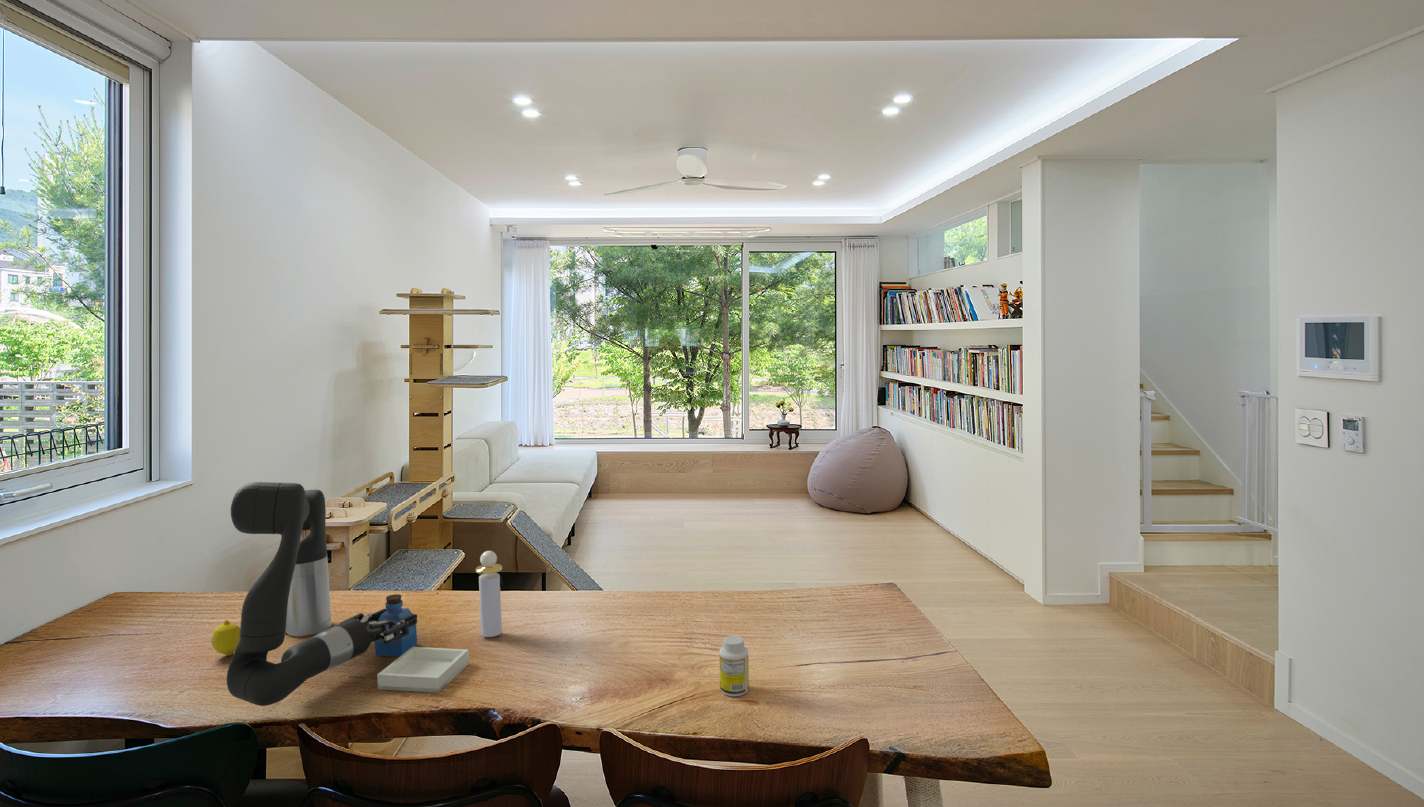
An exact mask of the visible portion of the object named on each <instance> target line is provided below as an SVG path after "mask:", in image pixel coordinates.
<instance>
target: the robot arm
mask: <svg viewBox="0 0 1424 807" xmlns="http://www.w3.org/2000/svg"><path fill="white" fill-rule="evenodd" d="M232 498H233V499H232V500H231V505H230V518H231V521H232V523H233V525H234V528H235V529H236V530H237V531H238V532H240V533H243V534H248V535H250V534H251V535H280V536H281V538H280V543H279V546H278V549H277V552H276V554H275V555H274V557H273V559H272V561H271V562H270V563H269V565H268V566H267V567H266V568H265V570H264V571H263V573H262V574H261V575H259V577H258V578H257V580H256V581H255V582H254V584H253V585H251V588H250V589H249V591H248V592H247V594H246V596H245V597H244V598H245V599H244V601H243V604H242V608H241V615H240V626H239V628H240V640H239V643H238V645H237V647H236V649H235V651H234V653H233V654H232V658H231V661H230V664H229V666H228V669H227V673H226V686H227V690H228V692H229V693H230V695H231V696H233V697H235V698H237V699H239V700H242V701H245V702H247V703H250V704H253V705H256V706H258V707H259V706H260V707H266V706H271V705H273V704H277V703H279V702H281V701H282V700H285V699H286V698H287V697H288V696H289V695H291V694H292V693H293V692H294V691H295V690H297V689H298V688H299V687H300V686H301V685H303V684H304V683H305V682H306V681H307V680H309V679H311V678H313V677H315V676H317V675H319V674H321V673H323V672H326V671H328V670H331V669H333V668H336V667H338V666H340V665H343V664H344V663H347V662H348V661H350V660H353V659H354V658H356V657H359V656H361V655H363V654H364V653H366V651H368V649H369V647H370V645H371V644H372V643H375V641H378V640H380V639H383V640H384V644H389V643H391V642H393V641H395V640H397V639H399V638H402V637H404V636H406V635H408V634H409V627H411V626H413V625H415V624H416V625H417V624H418V614H417V613H412V615H410V616H408V617H406V618H403V619H401V620H398V621H392V620H386V621H380V622H377V621H378V619H379V617H380V615H381V614H383V613H384V612H386V611H387V609H386V608H382V609H380V610H378V611H375V612H373V613H371V612H370V613H366V614H365V615H364V613H363V612H362V613H361V612H360V613H358V614H356V615H353V616H351V617H349V618H347V619H345V620H343V621H341V622H340V623H339V624H336V625H334V626H333V624H332V623H333V621H332V608H331V606H332V605H331V595H330V592H331V591H330V579H329V577H330V576H329V563H328V561H329V560H328V546H327V532H326V531H327V530H326V528H327V527H326V522H327V521H326V515H327V514H326V513H327V512H326V509H327V508H326V498H325V495H324V493H323V491H322V490H320V489H307V490H305V488H304V486H303V485H302V484H300V483H296V482H272V481H271V482H269V481H268V482H267V481H252V482H247V483H245V484H243V485H242V486H241V487H239V488H238V489H237V490H236V492H235V494H234V495H233V497H232ZM303 531H310V532H309V534H307V536H305V537H303V538H302V533H303ZM398 624H399V625H398ZM385 625H389V629H387V630H386V631H385ZM394 625H397V626H395V627H393V626H394ZM286 634H287V635H288V636H290V637H309V636H311V637H309V638H307V639H305V640H303V641H300V642H298V643H295V644H293V645H291V646H290V647H289V648H286V650H284V652H283V654H282V656H281V659H280V662H278V663H274V662H271V661H268V653H269V652H271V651H274V650H277V649H278V648H280V647H281V646H282V645H283V643H284V641H285V636H286ZM313 635H314V636H313Z"/></svg>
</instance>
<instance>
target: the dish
mask: <svg viewBox="0 0 1424 807" xmlns="http://www.w3.org/2000/svg"><path fill="white" fill-rule="evenodd" d="M469 652H470V651H469V649H463V648H446V647H445V648H444V647H443V648H441V647H427V646H426V647H423V646H422V647H421V646H414V647H412V648H410V649H409V650H408V651H407V652H405V653H404V654H403V655H401V656H398V658H396V659H395V660H394V661H392V662H391V663H390V664H389V665H387V666H386V667H385V668H384V669H382V670H381V671H380V672H378V673H377V676H376V677H377V690H380V691H381V690H382V691H383V690H385V691H399V692H400V691H401V692H403V691H404V692H418V693H419V692H420V693H431V694H432V693H435V694H439V693H440V692H441V691H442V690H443V689H444V688H446V686H447V685H448V684H450V682H451V681H452V680H454V679H455V678H456V677H457V676H458V675H459V674H460V673H461V672H462V670H464V669H465V668H467V666H468V665H469V664H470V655H469Z"/></svg>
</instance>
